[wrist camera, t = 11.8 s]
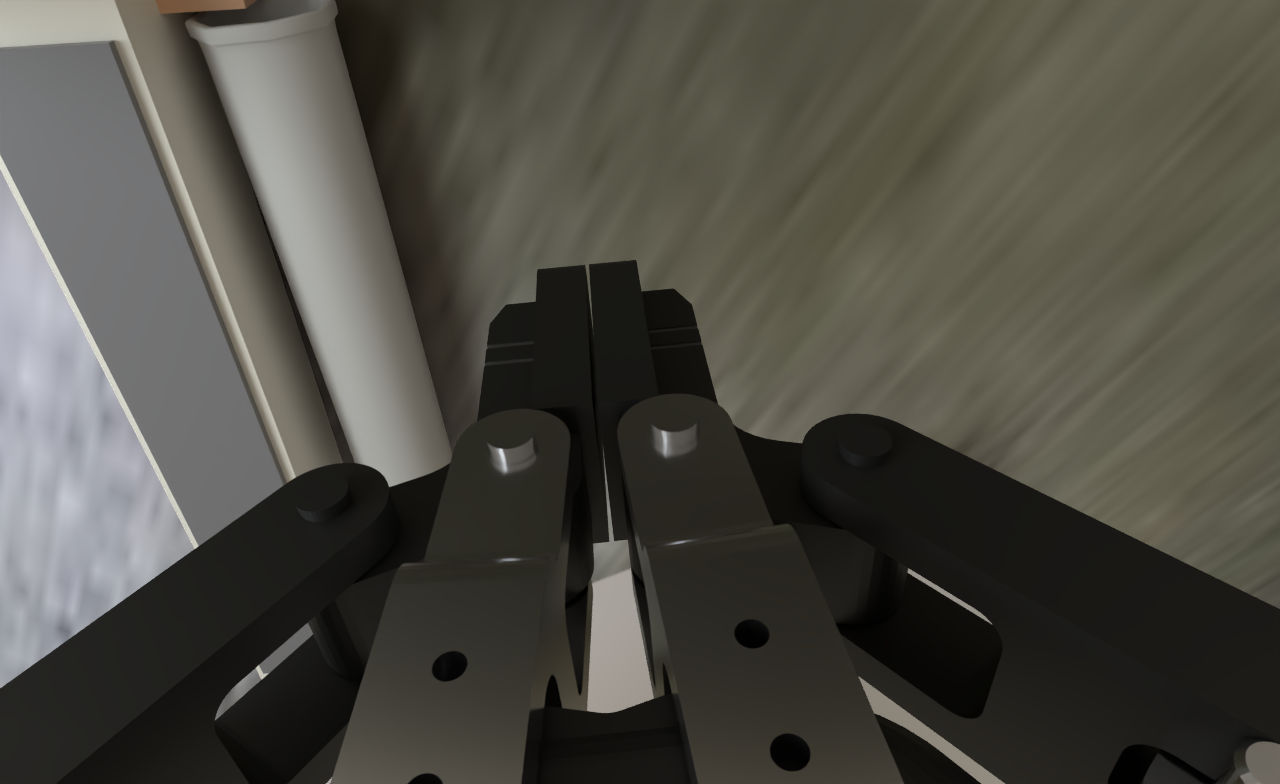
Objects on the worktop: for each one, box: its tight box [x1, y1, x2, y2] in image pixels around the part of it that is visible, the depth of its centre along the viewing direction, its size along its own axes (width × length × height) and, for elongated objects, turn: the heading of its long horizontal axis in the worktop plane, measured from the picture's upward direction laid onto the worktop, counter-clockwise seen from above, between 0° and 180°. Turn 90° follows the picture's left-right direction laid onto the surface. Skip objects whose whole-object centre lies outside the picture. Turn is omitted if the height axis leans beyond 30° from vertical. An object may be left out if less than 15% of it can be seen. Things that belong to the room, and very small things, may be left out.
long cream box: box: [0, 0, 343, 679], centre depth 39 cm, size 9×36×6 cm, turn 2°
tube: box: [185, 0, 452, 487], centre depth 38 cm, size 5×5×25 cm
